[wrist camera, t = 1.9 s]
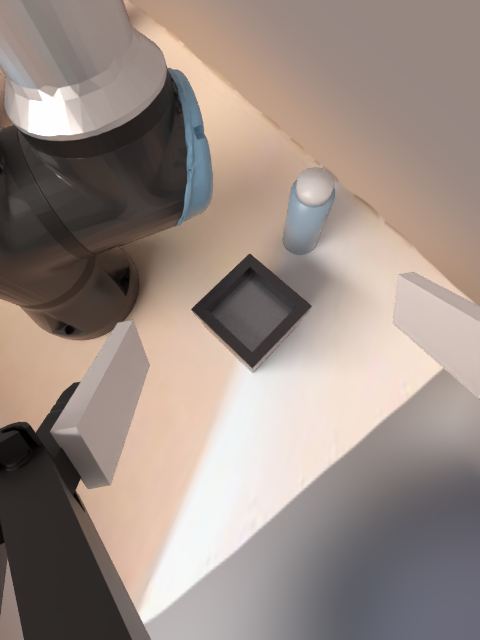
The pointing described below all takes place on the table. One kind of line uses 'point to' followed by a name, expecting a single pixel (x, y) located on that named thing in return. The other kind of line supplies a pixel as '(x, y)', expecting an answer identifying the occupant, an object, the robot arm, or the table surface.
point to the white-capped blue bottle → (308, 209)
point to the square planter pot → (251, 312)
